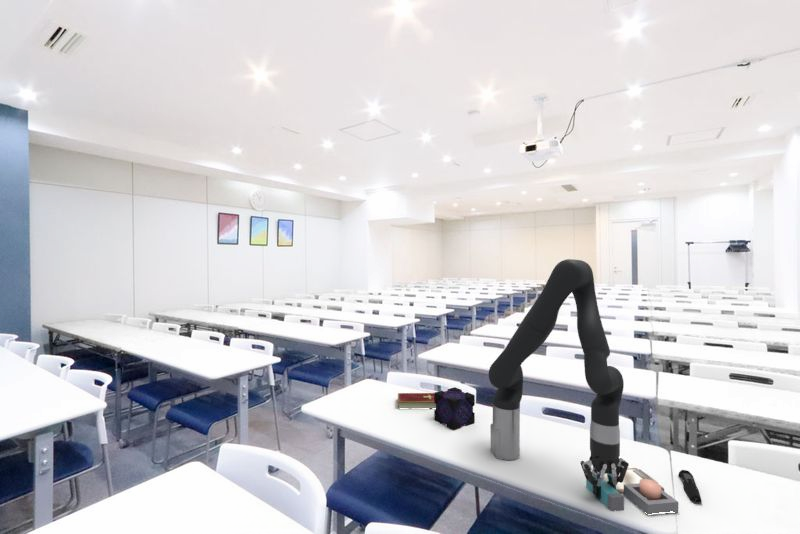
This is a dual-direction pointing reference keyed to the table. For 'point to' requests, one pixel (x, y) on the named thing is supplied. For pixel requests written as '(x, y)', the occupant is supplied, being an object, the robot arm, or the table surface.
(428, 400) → the hardcover book
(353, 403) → the table surface
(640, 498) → the collar
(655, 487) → the brown egg
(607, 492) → the teal rectangular block
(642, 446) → the table surface
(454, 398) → the energy cube
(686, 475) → the electric trimmer
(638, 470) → the clipboard
